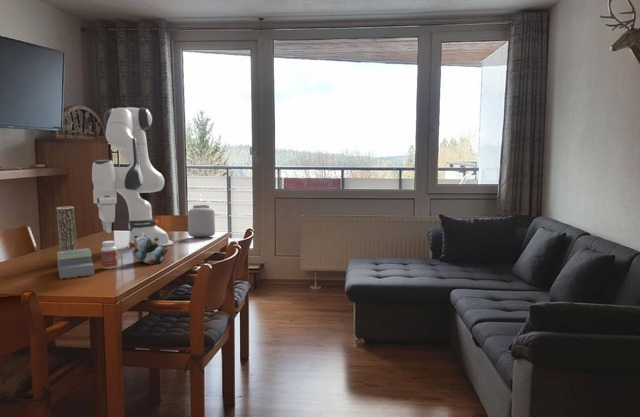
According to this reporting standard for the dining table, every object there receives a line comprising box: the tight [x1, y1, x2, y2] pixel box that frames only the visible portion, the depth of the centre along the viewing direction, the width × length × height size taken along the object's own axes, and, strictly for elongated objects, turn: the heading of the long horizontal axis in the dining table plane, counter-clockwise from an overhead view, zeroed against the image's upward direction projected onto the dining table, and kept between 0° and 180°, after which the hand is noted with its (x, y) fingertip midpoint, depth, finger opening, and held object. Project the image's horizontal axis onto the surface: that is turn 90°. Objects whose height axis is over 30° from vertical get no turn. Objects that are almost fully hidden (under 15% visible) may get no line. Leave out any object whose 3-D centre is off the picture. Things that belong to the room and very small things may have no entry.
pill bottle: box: [100, 240, 119, 270], centre depth 201 cm, size 6×6×11 cm
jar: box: [187, 194, 216, 238], centre depth 270 cm, size 19×15×25 cm
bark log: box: [56, 205, 78, 251], centre depth 211 cm, size 7×7×25 cm
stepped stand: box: [56, 247, 96, 280], centre depth 193 cm, size 12×17×8 cm
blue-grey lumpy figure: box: [128, 235, 169, 266], centre depth 210 cm, size 15×12×14 cm
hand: (107, 231), depth 199 cm, fingers open, 8 cm apart
